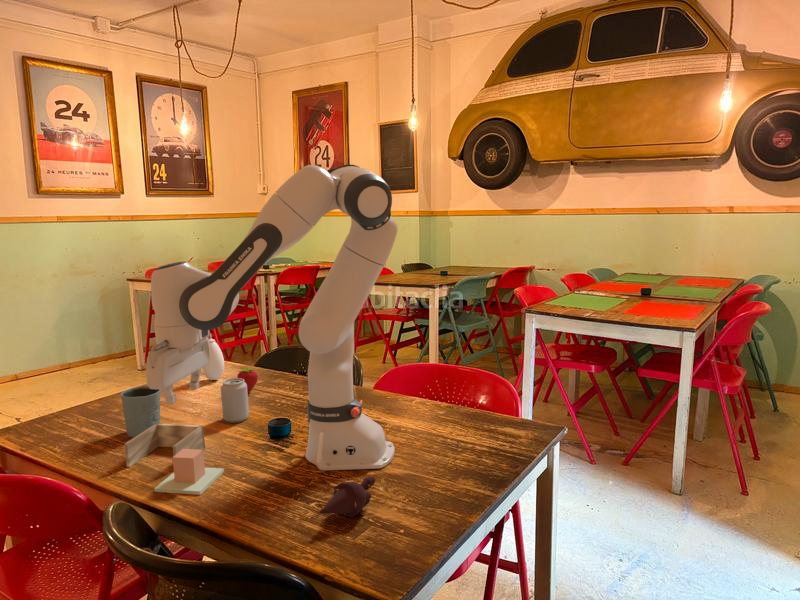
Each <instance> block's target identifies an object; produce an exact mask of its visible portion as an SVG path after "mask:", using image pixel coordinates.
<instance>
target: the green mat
mask: <svg viewBox="0 0 800 600" xmlns="http://www.w3.org/2000/svg"><path fill="white" fill-rule="evenodd" d="M224 472H225V468H221V467H219V468H218V467H205V475H204V476H203V477H202V478H200V479H199V480H198V481H197V482H196V483H182V482H175V477H174V472H172V473H171V474H170V475H168V476H167V477H166V478H165V479H163V481H161V482H160V483H159V484H158V485H157V486H155V487H154V492H155V493H165V492H166V493H167V494H169V493H170V494H182V495H183V494H184V495H197V496H198V495H199V496H200V495H203V493H204V492H205V491H206V490H207V489H208V488H209V487H210V486H211V485H213V483H214V482H215V481H216V480H217V479H218V478H220V476H221V475H222V474H223V473H224Z"/></svg>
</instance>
